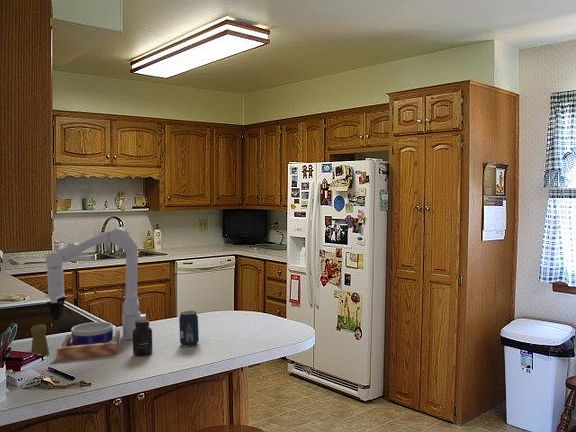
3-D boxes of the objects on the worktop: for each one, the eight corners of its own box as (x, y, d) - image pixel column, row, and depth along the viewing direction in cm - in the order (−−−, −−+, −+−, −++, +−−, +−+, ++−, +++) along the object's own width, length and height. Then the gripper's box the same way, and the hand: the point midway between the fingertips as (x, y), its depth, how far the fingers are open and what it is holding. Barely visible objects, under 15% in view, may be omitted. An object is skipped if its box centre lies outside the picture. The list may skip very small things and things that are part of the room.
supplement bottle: (142, 358, 192) (141, 324, 191) (129, 355, 196) (127, 322, 195) (157, 352, 198) (155, 319, 197) (143, 350, 201) (142, 317, 201)
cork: (42, 357, 195) (40, 327, 195) (27, 357, 197) (25, 326, 196) (52, 352, 201) (51, 323, 201) (38, 352, 203) (36, 322, 202)
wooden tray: (119, 334, 224) (119, 325, 224) (117, 354, 197) (116, 343, 197) (67, 339, 219) (67, 329, 219) (57, 360, 192) (56, 348, 192)
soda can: (191, 340, 213) (190, 309, 212) (202, 343, 208) (201, 312, 207) (176, 344, 208) (175, 313, 207) (187, 347, 203) (185, 315, 202)
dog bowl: (119, 341, 215) (118, 326, 214) (79, 349, 205) (78, 333, 205) (104, 334, 227) (104, 319, 226) (66, 341, 217) (65, 326, 217)
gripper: (47, 281, 219) (49, 314, 219) (41, 286, 205) (43, 323, 205) (66, 279, 221) (68, 313, 221) (61, 285, 207) (63, 321, 207)
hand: (57, 317), depth 213 cm, fingers open, 7 cm apart
